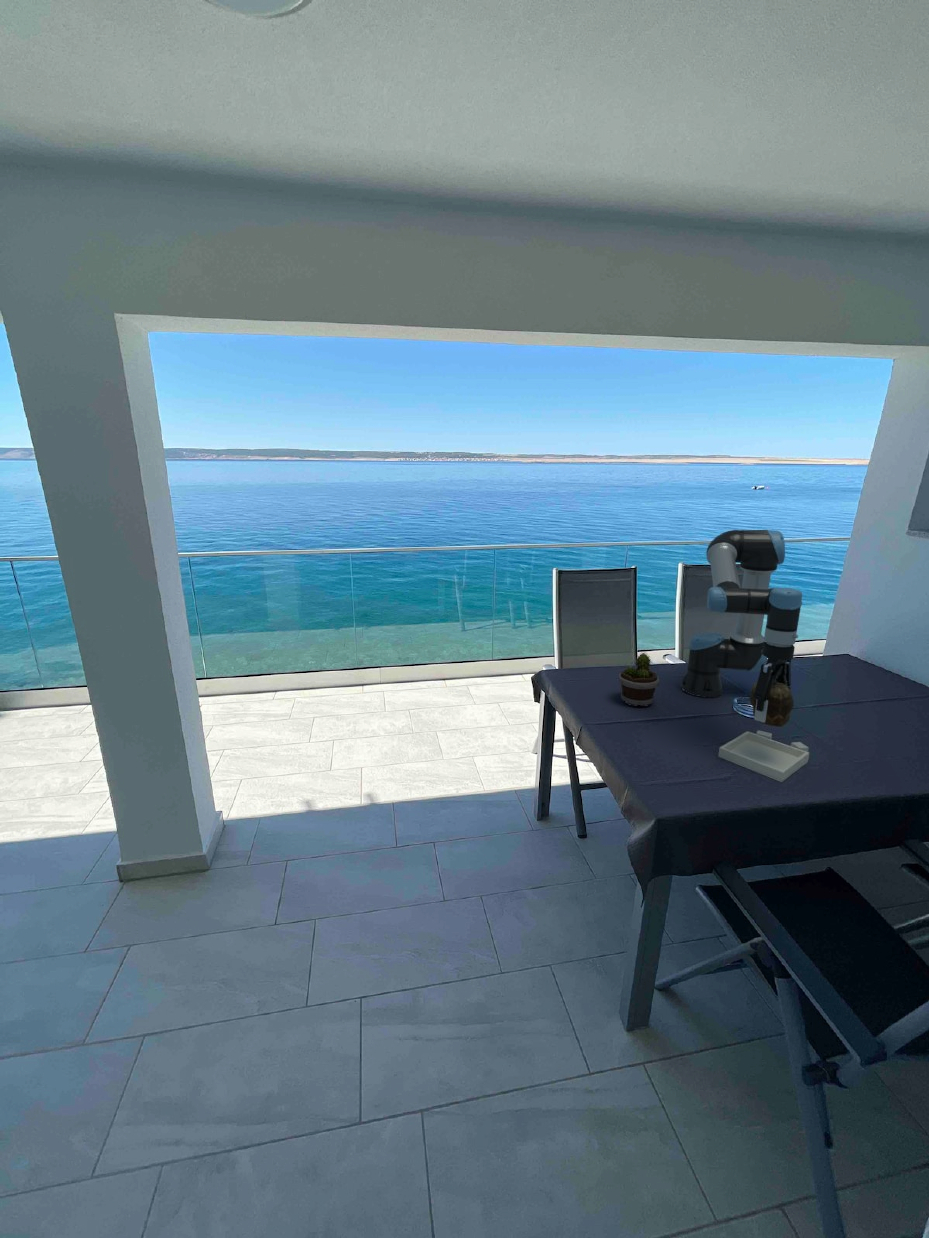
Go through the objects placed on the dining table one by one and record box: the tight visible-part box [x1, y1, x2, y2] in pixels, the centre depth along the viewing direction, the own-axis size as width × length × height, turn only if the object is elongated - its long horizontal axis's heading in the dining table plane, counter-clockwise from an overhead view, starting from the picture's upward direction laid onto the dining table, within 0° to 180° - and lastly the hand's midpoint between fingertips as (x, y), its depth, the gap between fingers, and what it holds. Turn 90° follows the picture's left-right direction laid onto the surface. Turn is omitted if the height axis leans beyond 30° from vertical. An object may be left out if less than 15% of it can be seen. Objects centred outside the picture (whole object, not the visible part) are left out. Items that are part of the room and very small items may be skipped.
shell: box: [749, 680, 795, 728], centre depth 145 cm, size 11×11×12 cm
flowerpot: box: [617, 651, 660, 707], centre depth 190 cm, size 14×15×20 cm
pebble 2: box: [790, 741, 810, 752], centre depth 154 cm, size 4×3×2 cm
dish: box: [717, 730, 810, 783], centre depth 150 cm, size 18×18×3 cm
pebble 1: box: [755, 729, 773, 740], centre depth 162 cm, size 4×3×2 cm
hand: (768, 715), depth 147 cm, fingers closed on shell, 11 cm apart
